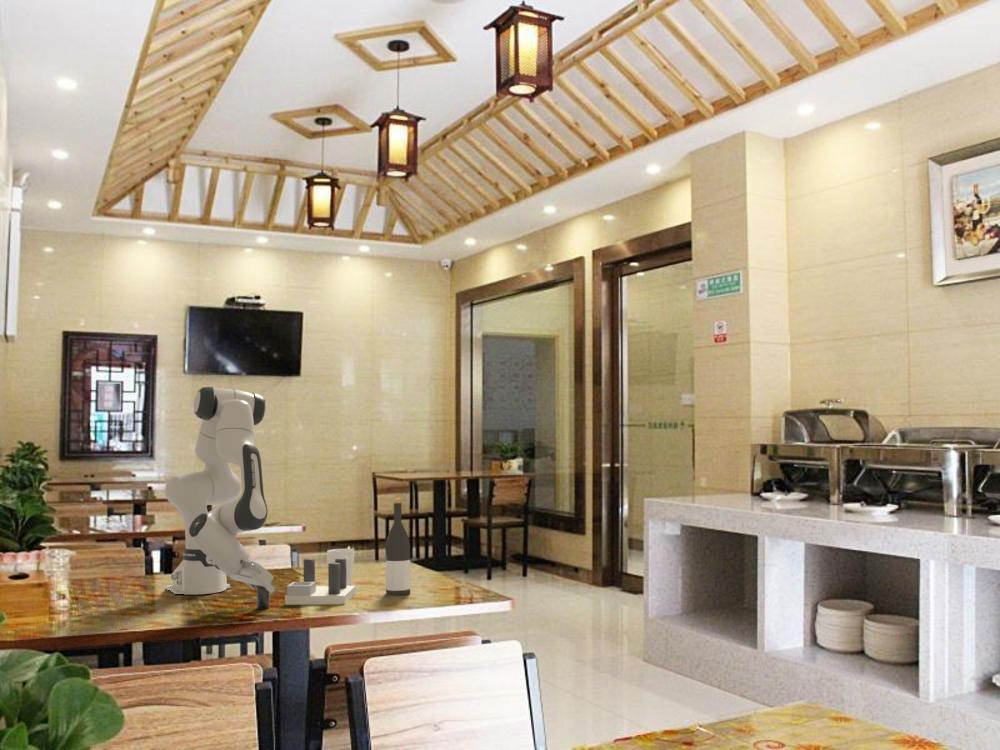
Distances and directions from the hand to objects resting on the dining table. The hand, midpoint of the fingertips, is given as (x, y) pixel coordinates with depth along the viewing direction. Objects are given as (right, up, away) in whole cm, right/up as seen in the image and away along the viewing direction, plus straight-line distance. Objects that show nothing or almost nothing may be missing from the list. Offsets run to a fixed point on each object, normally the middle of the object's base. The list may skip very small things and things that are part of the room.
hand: (264, 589), depth 270 cm
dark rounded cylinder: (0, -5, 0) cm, 5 cm away
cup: (+16, -8, +36) cm, 40 cm away
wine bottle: (+37, -6, +21) cm, 43 cm away
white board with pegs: (+14, -6, +13) cm, 20 cm away
